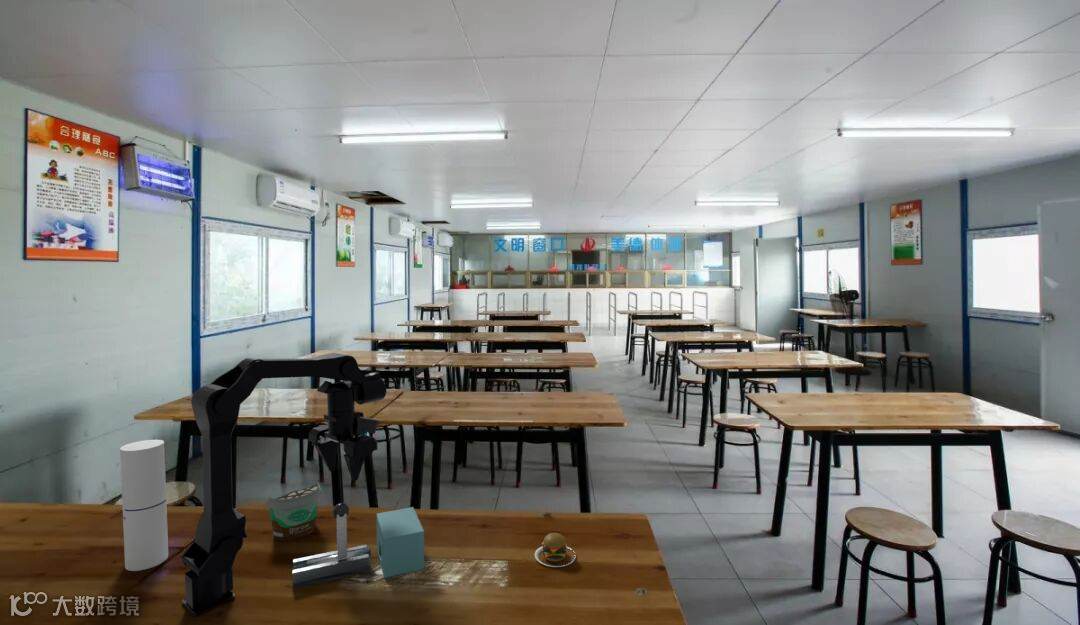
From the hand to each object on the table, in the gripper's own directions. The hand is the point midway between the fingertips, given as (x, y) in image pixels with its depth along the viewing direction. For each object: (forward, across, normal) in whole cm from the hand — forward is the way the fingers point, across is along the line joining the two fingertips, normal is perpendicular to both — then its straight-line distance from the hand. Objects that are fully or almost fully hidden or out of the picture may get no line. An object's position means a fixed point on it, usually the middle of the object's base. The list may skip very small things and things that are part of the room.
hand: (343, 475), depth 113 cm
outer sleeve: (+15, -11, +9) cm, 20 cm away
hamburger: (+16, -43, -23) cm, 51 cm away
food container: (+15, +10, +5) cm, 19 cm away
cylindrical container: (+14, +25, +30) cm, 42 cm away
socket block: (+15, -17, -2) cm, 23 cm away
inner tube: (+13, -11, +8) cm, 19 cm away
